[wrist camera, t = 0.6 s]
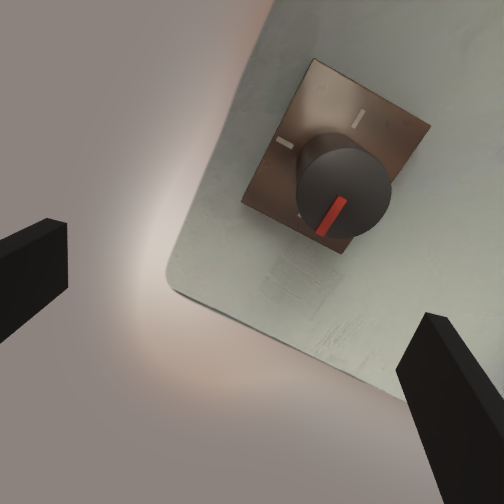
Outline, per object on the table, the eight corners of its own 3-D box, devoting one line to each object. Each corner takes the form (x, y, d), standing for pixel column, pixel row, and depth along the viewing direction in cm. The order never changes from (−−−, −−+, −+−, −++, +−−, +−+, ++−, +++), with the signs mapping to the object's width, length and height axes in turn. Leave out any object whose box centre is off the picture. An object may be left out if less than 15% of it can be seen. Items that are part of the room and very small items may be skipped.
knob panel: (312, 60, 26) (313, 57, 24) (422, 124, 27) (432, 126, 25) (243, 195, 31) (240, 202, 29) (338, 246, 32) (341, 255, 30)
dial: (317, 119, 26) (328, 129, 18) (376, 152, 26) (414, 178, 18) (284, 180, 28) (279, 215, 20) (339, 209, 29) (357, 256, 20)
